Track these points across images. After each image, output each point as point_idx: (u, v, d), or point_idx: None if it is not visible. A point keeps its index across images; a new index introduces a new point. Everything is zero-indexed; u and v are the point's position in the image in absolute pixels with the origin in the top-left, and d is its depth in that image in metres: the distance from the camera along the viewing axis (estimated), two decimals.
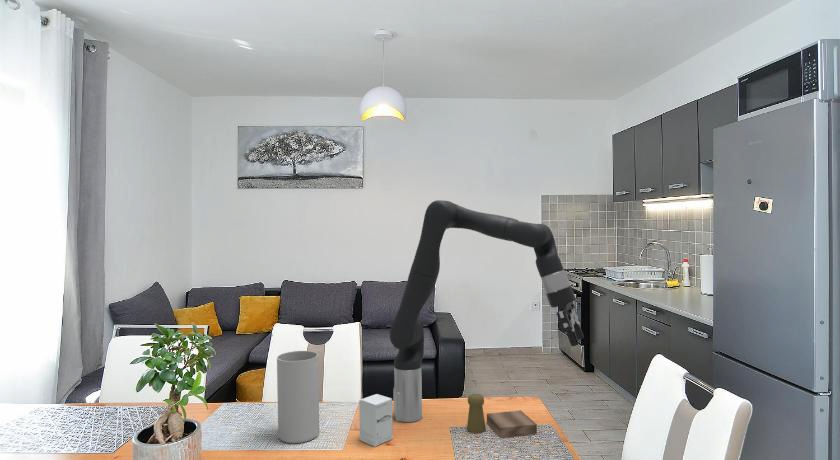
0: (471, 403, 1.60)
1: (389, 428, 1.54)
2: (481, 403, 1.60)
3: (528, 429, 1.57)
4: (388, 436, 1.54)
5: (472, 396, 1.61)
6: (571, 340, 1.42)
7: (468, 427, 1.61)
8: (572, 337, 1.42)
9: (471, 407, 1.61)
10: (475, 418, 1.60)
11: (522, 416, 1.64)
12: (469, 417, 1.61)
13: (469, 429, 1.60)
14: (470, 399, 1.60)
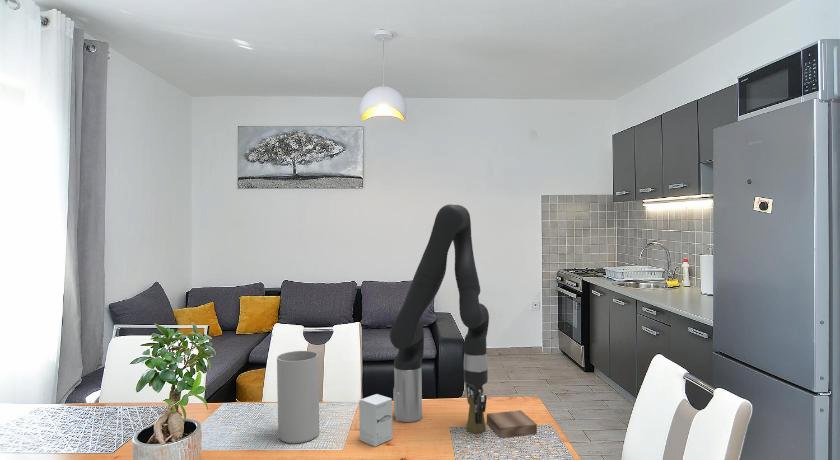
0: (471, 403, 1.60)
1: (389, 427, 1.54)
2: None
3: (528, 429, 1.57)
4: (388, 436, 1.54)
5: None
6: (478, 419, 1.59)
7: (468, 427, 1.61)
8: (480, 416, 1.59)
9: (471, 407, 1.61)
10: None
11: (522, 416, 1.64)
12: (469, 417, 1.61)
13: (469, 429, 1.60)
14: (470, 399, 1.60)
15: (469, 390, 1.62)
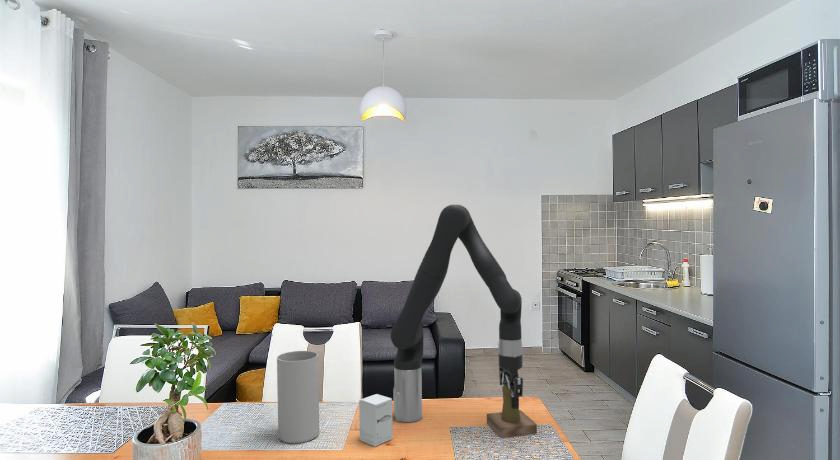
0: (506, 393, 1.60)
1: (389, 427, 1.54)
2: None
3: (528, 429, 1.57)
4: (388, 436, 1.54)
5: (507, 386, 1.61)
6: (515, 404, 1.58)
7: (503, 417, 1.61)
8: (517, 401, 1.58)
9: (506, 397, 1.61)
10: (510, 407, 1.60)
11: (522, 416, 1.64)
12: (504, 407, 1.61)
13: (504, 419, 1.61)
14: (505, 389, 1.61)
15: (504, 375, 1.63)
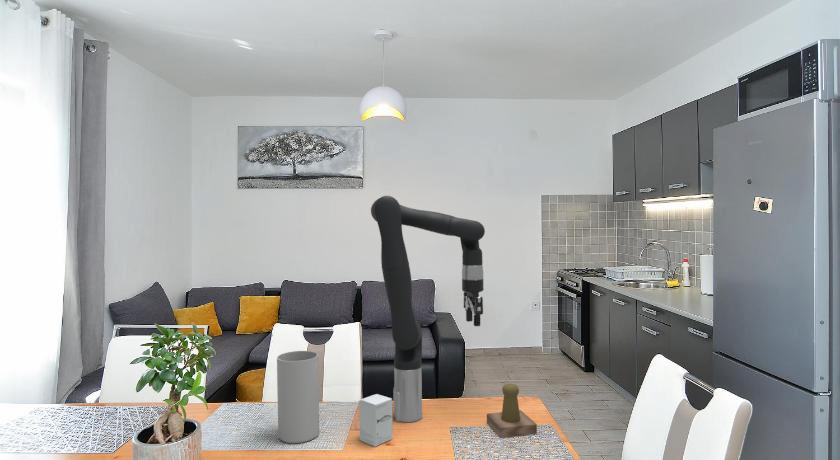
0: (506, 393, 1.60)
1: (389, 427, 1.54)
2: (516, 393, 1.60)
3: (528, 429, 1.57)
4: (388, 436, 1.54)
5: (507, 386, 1.61)
6: (477, 321, 1.74)
7: (503, 417, 1.61)
8: (478, 319, 1.74)
9: (506, 397, 1.61)
10: (510, 407, 1.60)
11: (522, 416, 1.64)
12: (504, 407, 1.61)
13: (504, 419, 1.61)
14: (505, 389, 1.61)
15: (466, 299, 1.80)
